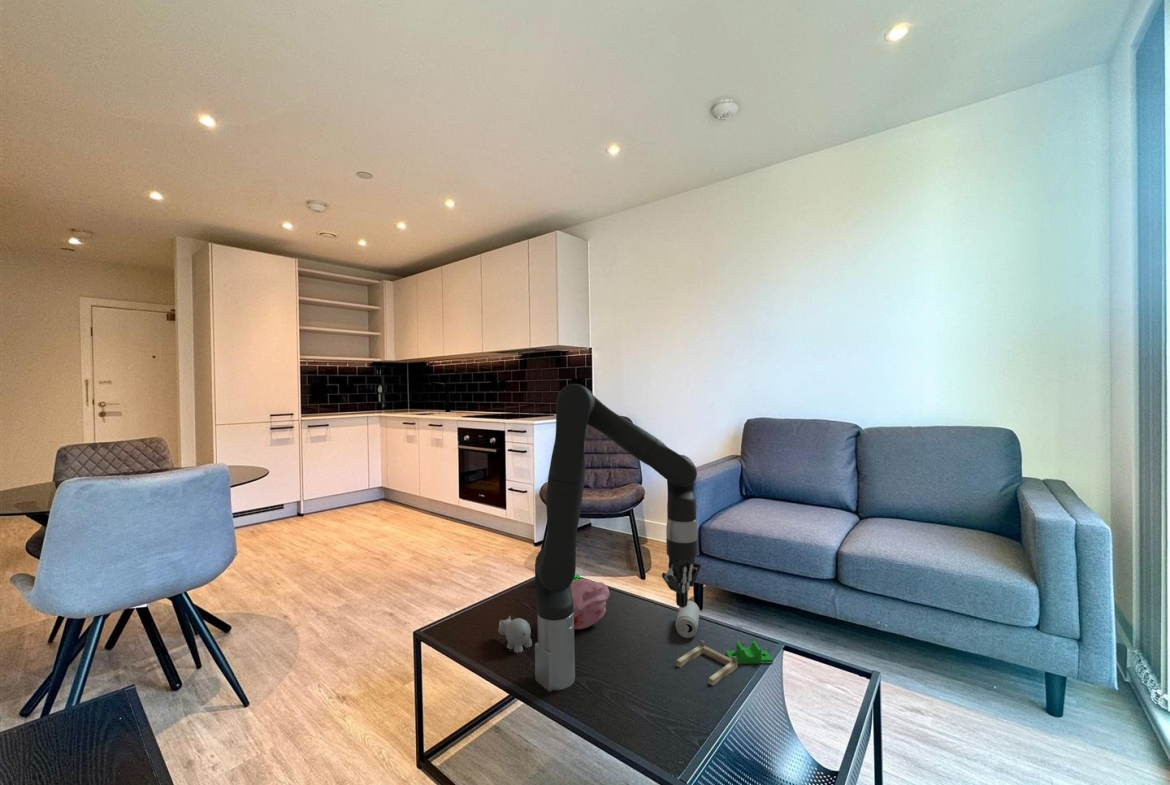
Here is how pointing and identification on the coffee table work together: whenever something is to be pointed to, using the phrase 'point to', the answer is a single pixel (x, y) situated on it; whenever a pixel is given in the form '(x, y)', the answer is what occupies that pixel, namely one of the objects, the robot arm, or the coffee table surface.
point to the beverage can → (688, 619)
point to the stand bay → (702, 649)
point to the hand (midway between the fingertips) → (682, 605)
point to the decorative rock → (588, 602)
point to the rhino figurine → (516, 633)
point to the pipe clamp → (749, 654)
